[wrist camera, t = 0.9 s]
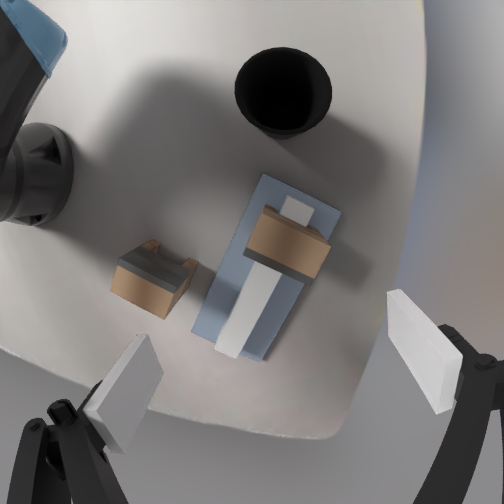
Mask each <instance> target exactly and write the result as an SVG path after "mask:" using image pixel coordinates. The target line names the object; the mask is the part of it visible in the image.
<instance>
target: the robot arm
mask: <svg viewBox="0 0 504 504" xmlns="http://www.w3.org/2000/svg"><path fill="white" fill-rule="evenodd" d="M67 42H68V39H67V35H66V33H65V31H64V30H63V29H62V28H61V27H60V26H59V25H58V24H57V23H56V22H55V21H53V20H52V19H51V18H50V17H49V16H47V15H46V14H45V13H44V12H43V11H41V10H40V9H39V8H37V7H36V6H35V5H33V4H32V3H31V2H29V1H28V0H0V222H1V221H8V222H12V223H17V224H22V225H27V226H34V225H38V224H42V223H45V222H48V221H50V220H52V219H53V218H54V217H55V216H57V214H58V213H59V212H60V211H61V210H62V208H63V207H64V205H65V203H66V201H67V199H68V196H69V193H70V190H71V186H72V180H73V158H72V153H71V149H70V146H69V143H68V141H67V139H66V137H65V136H64V134H63V133H62V132H61V131H60V130H59V129H58V128H57V127H55V126H53V125H50V124H45V123H30V124H26V125H24V126H22V124H23V122H24V120H25V118H26V116H27V114H28V112H29V111H30V109H31V107H32V105H33V103H34V102H35V100H36V98H37V96H38V95H39V93H40V91H41V89H42V88H43V86H44V85H45V83H46V81H47V80H48V78H49V79H50V77H51V75H52V71H53V69H54V67H55V66H56V64H57V62H58V61H59V59H60V57H61V56H62V54H63V53H64V51H65V49H66V47H67ZM387 307H388V336H389V338H390V340H391V341H392V343H393V344H394V346H395V347H396V349H397V350H398V352H399V354H400V355H401V357H402V358H403V360H404V362H405V363H406V365H407V366H408V368H409V370H410V371H411V373H412V375H413V376H414V378H415V379H416V381H417V383H418V384H419V386H420V388H421V389H422V391H423V393H424V394H425V396H426V398H427V399H428V401H429V403H430V405H431V407H432V408H433V410H434V412H435V413H436V415H437V414H440V413H442V412H445V411H447V410H450V409H452V407H453V403H454V399H456V401H457V403H456V406H455V409H454V412H453V415H452V418H451V421H450V423H449V426H448V429H447V431H446V434H445V436H444V439H443V441H442V444H441V446H440V449H439V451H438V454H437V456H436V458H435V460H434V462H433V465H432V467H431V469H430V471H429V473H428V475H427V477H426V479H425V481H424V483H423V486H422V488H421V489H420V491H419V493H418V495H417V497H416V499H415V500H414V502H413V504H462V502H463V500H464V498H465V495H466V492H467V490H468V487H469V484H470V481H471V479H472V476H473V473H474V471H475V468H476V464H477V461H478V458H479V455H480V452H481V448H482V445H483V441H484V437H485V434H486V430H487V425H488V421H489V417H490V412H491V411H492V410H498V409H500V416H501V427H502V443H503V493H502V504H504V360H503V361H497V359H496V358H495V357H493V356H491V355H489V354H479V353H478V352H477V351H476V350H475V349H474V348H473V347H472V346H471V345H470V344H469V343H468V342H467V341H466V340H464V338H463V337H462V336H461V335H460V334H459V333H458V332H457V331H456V330H455V329H454V328H453V327H450V326H448V325H446V324H444V325H441V326H438V327H437V326H435V324H434V323H433V322H432V321H431V320H430V319H429V318H428V317H427V316H426V315H425V314H424V313H423V312H422V311H421V310H420V309H419V308H418V307H417V306H416V304H414V302H413V301H411V299H410V298H409V297H408V296H407V295H405V293H404V292H403V291H402V290H401V289H396V290H392V291H388V292H387ZM163 374H164V372H163V370H162V368H161V365H160V363H159V361H158V358H157V356H156V353H155V351H154V348H153V346H152V343H151V341H150V338H149V336H148V334H142V335H136V336H135V338H134V339H133V340H132V342H131V343H130V344H129V346H128V347H127V348H126V350H125V351H124V352H123V354H122V355H121V357H120V358H119V359H118V361H117V362H116V363H115V365H114V366H113V368H112V369H111V370H110V372H109V373H108V374H107V376H106V377H105V379H104V380H101V381H100V382H99V383H98V384H96V385H95V386H94V387H93V389H92V390H91V392H90V393H89V395H88V396H87V398H86V399H85V400H84V401H83V403H82V404H81V406H80V407H79V408H78V410H77V411H76V410H75V408H74V407H73V405H72V404H71V402H70V401H69V400H67V399H61V400H57V401H56V402H54V403H52V404H51V405H50V406H49V408H48V409H47V413H48V414H49V416H50V418H51V419H52V421H53V422H54V424H55V425H48V426H47V424H46V423H45V421H44V420H43V419H42V418H35V419H31V420H30V421H28V423H27V424H26V425H25V427H24V429H23V433H22V436H21V440H20V443H19V448H18V451H17V455H16V460H15V463H14V468H13V472H12V477H11V483H10V487H9V493H8V499H7V504H71V497H72V501H73V504H128V501H127V499H126V497H125V495H124V493H123V491H122V489H121V487H120V485H119V483H118V481H117V478H116V476H115V474H114V472H113V469H112V467H111V465H110V463H109V460H108V458H107V456H106V454H105V453H104V451H103V448H104V446H105V444H106V446H107V447H108V448H109V449H110V451H111V452H112V453H120V454H125V453H126V451H127V449H128V447H129V444H130V442H131V440H132V438H133V436H134V434H135V432H136V430H137V428H138V426H139V423H140V421H141V419H142V417H143V415H144V413H145V411H146V409H147V407H148V405H149V402H150V400H151V398H152V396H153V394H154V392H155V390H156V388H157V386H158V384H159V382H160V380H161V378H162V376H163Z"/></svg>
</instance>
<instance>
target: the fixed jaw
mask: <svg viewBox="0 0 504 504" xmlns="http://www.w3.org/2000/svg"><path fill="white" fill-rule="evenodd" d="M330 248H331V246H330V245H329V243H328V242H327V241H326V240H325V238H324V237H323V236H322V234H321V233H320V232H319V230H318V229H316V228H314V227H312V226H310V225H308V226H307V227H305V226H303V225H301V224H299V223H297V222H295V221H293V220H291V219H289V218H286V217H284V216H282V215H280V214H278V213H276V212H275V208H273V207H271V206H269V205H267V204H265V205H264V208H263V210H262V212H261V214H260V216H259V218H258V220H257V222H256V224H255V227H254V229H253V231H252V233H251V235H250V237H249V240H248V242H247V245H246V247H245V250H244V252H243V256H245V257H247V258H250V259H252V260H254V261H256V262H258V263H260V264H263V265H265V266H267V267H269V268H271V269H273V270H275V271H278V272H280V273H282V274H284V275H286V276H288V277H290V278H293V279H295V280H297V281H299V282H301V283H303V284H306V285H308V286H310V285H311V284H312V282H313V280H314V278H315V276H316V274H317V273H318V271H319V269H320V267H321V265H322V263H323V261H324V260H325V258H326V256H327V254H328V252H329V250H330Z"/></svg>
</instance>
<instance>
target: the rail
mask: <svg viewBox="0 0 504 504" xmlns="http://www.w3.org/2000/svg"><path fill="white" fill-rule="evenodd" d="M265 204H267V205H269V206H271V207H273V208H275V212H276V213H278V214H280V215H282V216H284V217H286V218H289V219H291V220H293V221H295V222H297V223H299V224H301V225H303V226H305V227H307V226H308V225H310V226H312V227H314V228H316V229H318V230H319V232H320V233H321V234H322V236H323V237H324V238H325V240H326V241H328V239H329V237H330V235H331V234H332V232H333V230H334V228H335V226H336V224H337V222H338V220H339V218H340V216H341V214H342V212H341V211H339V210H337V209H335V208H333V207H331V206H329V205H327V204H325V203H323V202H321V201H319V200H317V199H315V198H313V197H311V196H309V195H307V194H305V193H303V192H301V191H299V190H297V189H295V188H293V187H291V186H289V185H287V184H285V183H283V182H281V181H279V180H276V179H274V178H272V177H270V176H268V175H266V174H264V173H263V174H262V176H261V178H260V180H259V183H258V185H257V187H256V189H255V191H254V193H253V195H252V198H251V200H250V202H249V204H248V206H247V208H246V210H245V213H244V215H243V217H242V219H241V221H240V223H239V226H238V228H237V230H236V232H235V234H234V236H233V239H232V241H231V243H230V245H229V247H228V250H227V252H226V254H225V256H224V258H223V261H222V263H221V265H220V267H219V269H218V272H217V274H216V276H215V278H214V281H213V283H212V285H211V287H210V290H209V292H208V294H207V296H206V299H205V301H204V303H203V305H202V308H201V310H200V312H199V314H198V317H197V319H196V321H195V323H194V326H193V328H192V330H191V332H192V333H194V334H196V335H198V336H200V337H203V338H205V339H207V340H209V341H211V342H214V343H216V344H215V347H214V350H216V351H219V352H221V353H223V354H225V355H228V356H230V357H232V358H235V359H237V357H238V355H239V354H241V355H243V356H246V357H248V358H250V359H253V360H255V361H258V362H260V361H261V360H262V358H263V356H264V355H265V353H266V351H267V349H268V348H269V346H270V344H271V343H272V341H273V339H274V338H275V336H276V334H277V332H278V331H279V329H280V327H281V326H282V324H283V322H284V320H285V319H286V317H287V315H288V313H289V312H290V310H291V308H292V306H293V304H294V303H295V301H296V299H297V297H298V295H299V294H300V292H301V290H302V288H303V286H304V285H305V284H303V283H301V282H299V281H297V280H295V279H293V278H290V277H288V276H286V275H284V274H282V273H280V272H278V271H275V270H273V269H271V268H269V267H267V266H265V265H263V264H260V263H258V262H256V261H254V260H252V259H250V258H247V257H245V256H243V252H244V250H245V247H246V245H247V242H248V240H249V237H250V235H251V233H252V231H253V229H254V227H255V224H256V222H257V220H258V218H259V216H260V214H261V212H262V210H263V208H264V205H265Z"/></svg>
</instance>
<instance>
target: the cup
mask: <svg viewBox="0 0 504 504" xmlns="http://www.w3.org/2000/svg"><path fill="white" fill-rule="evenodd" d="M235 98H236V102H237V105H238V107H239V109H240V111H241V113H242V114H243V115H244V116H245V118H246V119H247V120H248V121H249V122H250V123H251V124H253V125H254V126H256V127H257V128H258V129H260V130H261V131H263V132H264V133H265V134H267V135H268V136H270V137H272V138H275V139H288V138H291V137H293V136H296V135H298V134H301V133H303V132H305V131H307V130H309V129H311V128H312V127H314V126H316V125H317V124H318V123H319V122H320V121H321V120H322V119H323V118H324V116H325V115H326V113H327V111H328V110H329V107H330V104H331V100H332V86H331V82H330V78H329V76H328V74H327V72H326V71H325V69H324V67H323V66H322V65H321V64H320V63H319V62H318V61H317V60H316V59H315V58H313V57H312V56H310V55H309V54H307V53H305V52H302V51H300V50H297V49H293V48H287V47H278V48H271V49H267V50H263V51H261V52H259V53H257V54H255V55H254V56H252V57H251V58H250V59H249V60H248V61H247V62H245V63H244V65H243V66H242V68H241V69H240V71H239V72H238V75H237V78H236V81H235Z"/></svg>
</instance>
